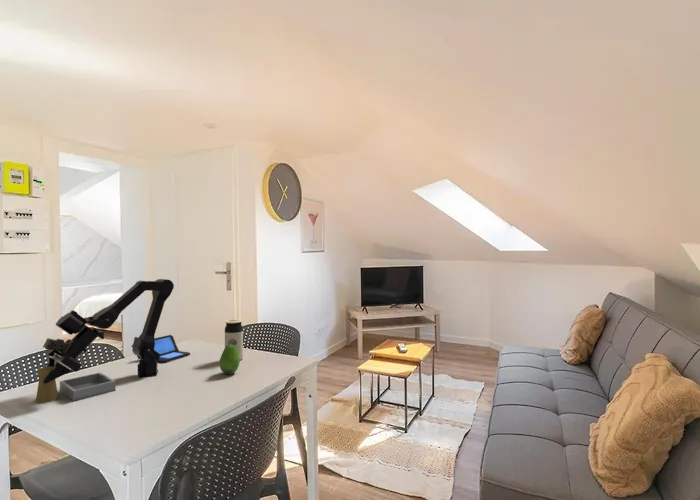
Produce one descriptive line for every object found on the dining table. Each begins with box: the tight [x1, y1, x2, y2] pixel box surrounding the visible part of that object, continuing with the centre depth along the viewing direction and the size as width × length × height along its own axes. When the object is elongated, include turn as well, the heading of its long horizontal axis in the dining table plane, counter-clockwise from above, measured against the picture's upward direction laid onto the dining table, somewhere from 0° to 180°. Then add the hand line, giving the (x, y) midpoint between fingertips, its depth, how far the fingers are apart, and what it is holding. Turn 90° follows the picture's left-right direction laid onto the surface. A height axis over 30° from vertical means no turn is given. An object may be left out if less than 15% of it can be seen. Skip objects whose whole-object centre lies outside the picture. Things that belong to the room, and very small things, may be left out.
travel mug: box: [224, 318, 244, 361], centre depth 174 cm, size 8×8×18 cm
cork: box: [35, 366, 59, 404], centre depth 128 cm, size 6×6×11 cm
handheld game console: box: [154, 334, 191, 364], centre depth 178 cm, size 16×13×9 cm
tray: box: [59, 371, 116, 402], centre depth 136 cm, size 16×13×4 cm
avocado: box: [219, 344, 241, 375], centre depth 154 cm, size 8×8×12 cm
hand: (41, 381), depth 126 cm, fingers closed on cork, 5 cm apart
